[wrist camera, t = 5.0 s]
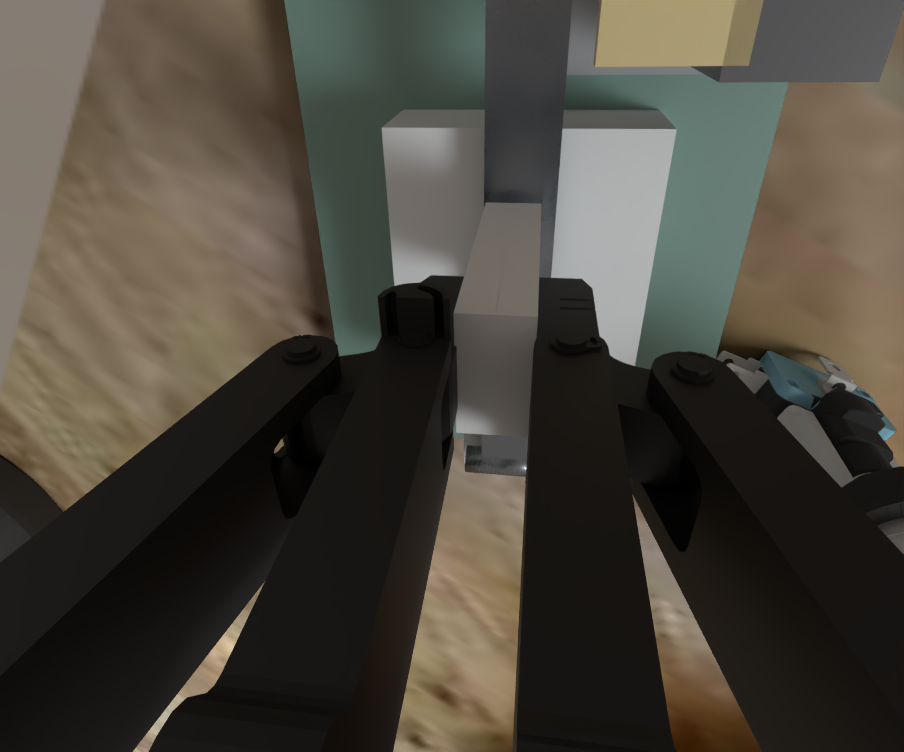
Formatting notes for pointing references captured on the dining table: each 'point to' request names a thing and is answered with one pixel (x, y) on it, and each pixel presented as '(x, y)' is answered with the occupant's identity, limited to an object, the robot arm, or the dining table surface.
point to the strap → (522, 146)
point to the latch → (751, 38)
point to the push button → (833, 430)
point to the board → (454, 72)
